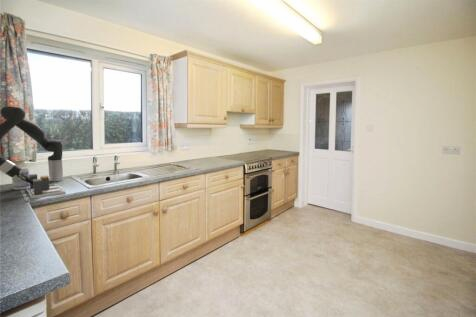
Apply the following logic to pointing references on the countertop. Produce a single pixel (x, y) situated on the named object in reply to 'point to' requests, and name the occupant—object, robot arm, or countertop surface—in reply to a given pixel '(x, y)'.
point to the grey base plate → (37, 190)
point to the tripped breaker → (45, 182)
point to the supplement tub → (20, 183)
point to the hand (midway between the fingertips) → (35, 184)
